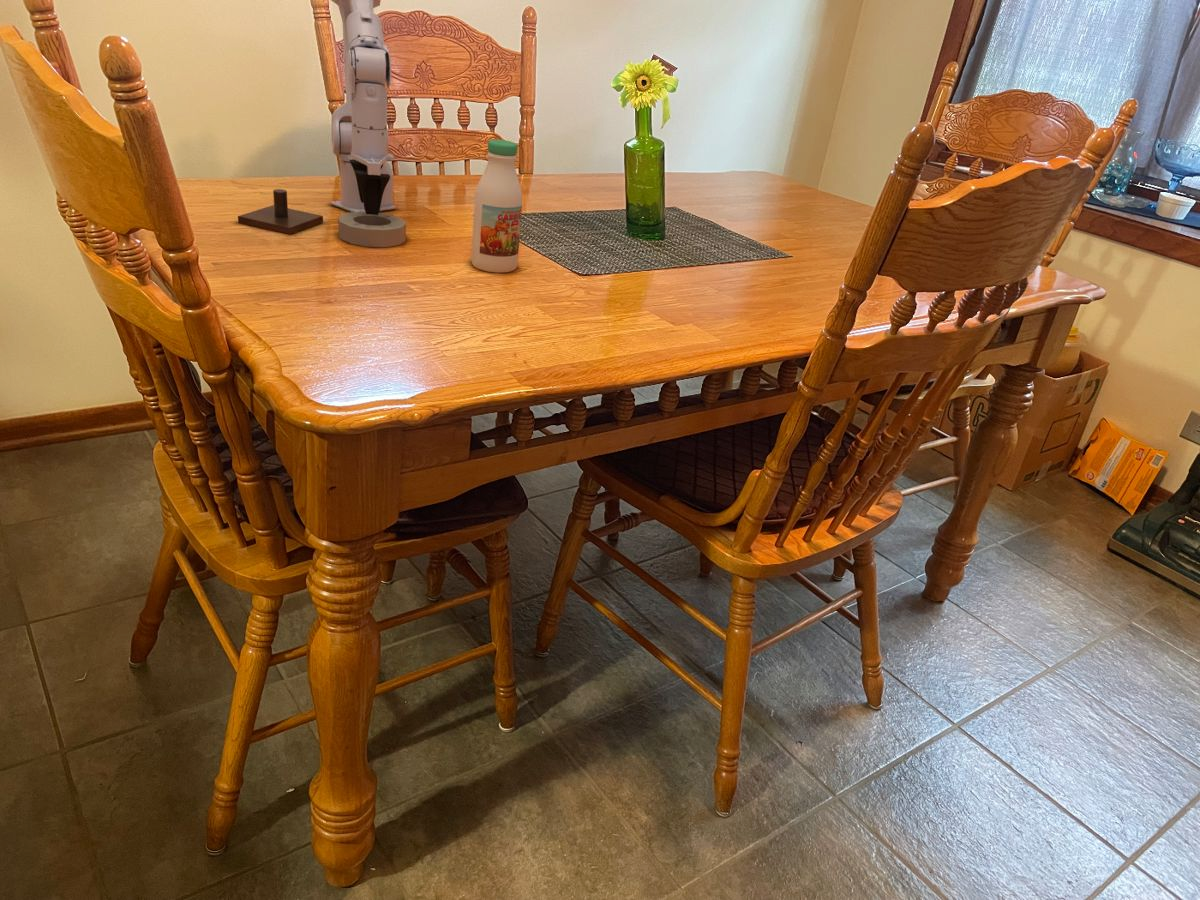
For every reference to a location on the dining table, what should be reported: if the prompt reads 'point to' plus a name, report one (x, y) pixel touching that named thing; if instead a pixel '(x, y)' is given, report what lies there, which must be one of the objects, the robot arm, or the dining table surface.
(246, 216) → the stand
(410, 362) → the dining table surface
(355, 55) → the robot arm
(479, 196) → the milk bottle
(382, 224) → the tape roll
